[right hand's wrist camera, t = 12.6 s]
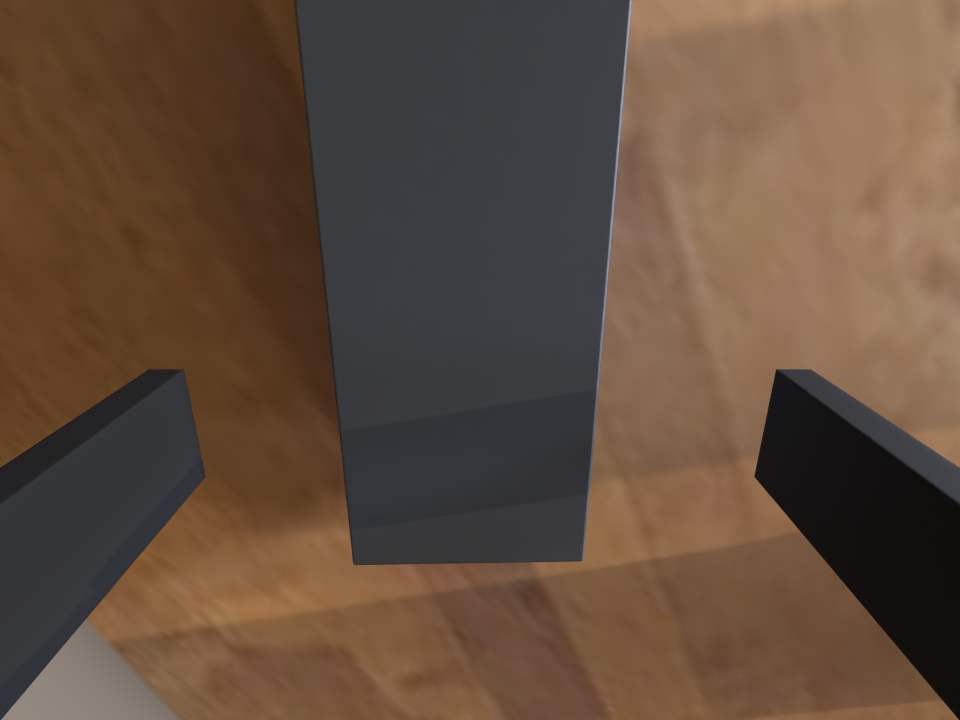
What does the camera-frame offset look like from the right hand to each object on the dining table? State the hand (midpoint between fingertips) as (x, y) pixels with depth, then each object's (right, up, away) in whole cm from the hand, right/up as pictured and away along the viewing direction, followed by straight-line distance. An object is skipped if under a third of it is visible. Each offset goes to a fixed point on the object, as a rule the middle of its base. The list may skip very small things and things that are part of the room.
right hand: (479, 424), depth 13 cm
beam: (0, +35, -4) cm, 35 cm away
